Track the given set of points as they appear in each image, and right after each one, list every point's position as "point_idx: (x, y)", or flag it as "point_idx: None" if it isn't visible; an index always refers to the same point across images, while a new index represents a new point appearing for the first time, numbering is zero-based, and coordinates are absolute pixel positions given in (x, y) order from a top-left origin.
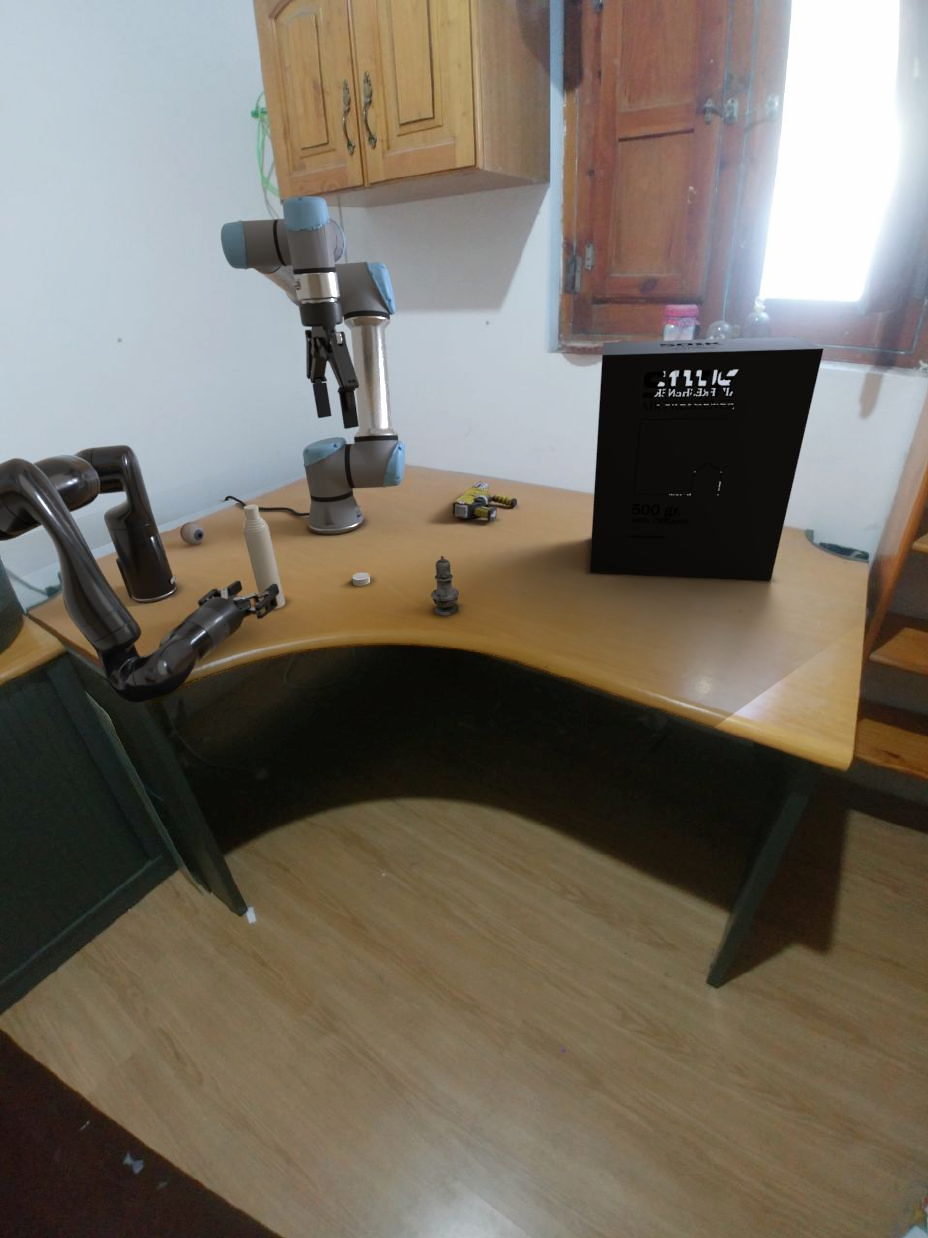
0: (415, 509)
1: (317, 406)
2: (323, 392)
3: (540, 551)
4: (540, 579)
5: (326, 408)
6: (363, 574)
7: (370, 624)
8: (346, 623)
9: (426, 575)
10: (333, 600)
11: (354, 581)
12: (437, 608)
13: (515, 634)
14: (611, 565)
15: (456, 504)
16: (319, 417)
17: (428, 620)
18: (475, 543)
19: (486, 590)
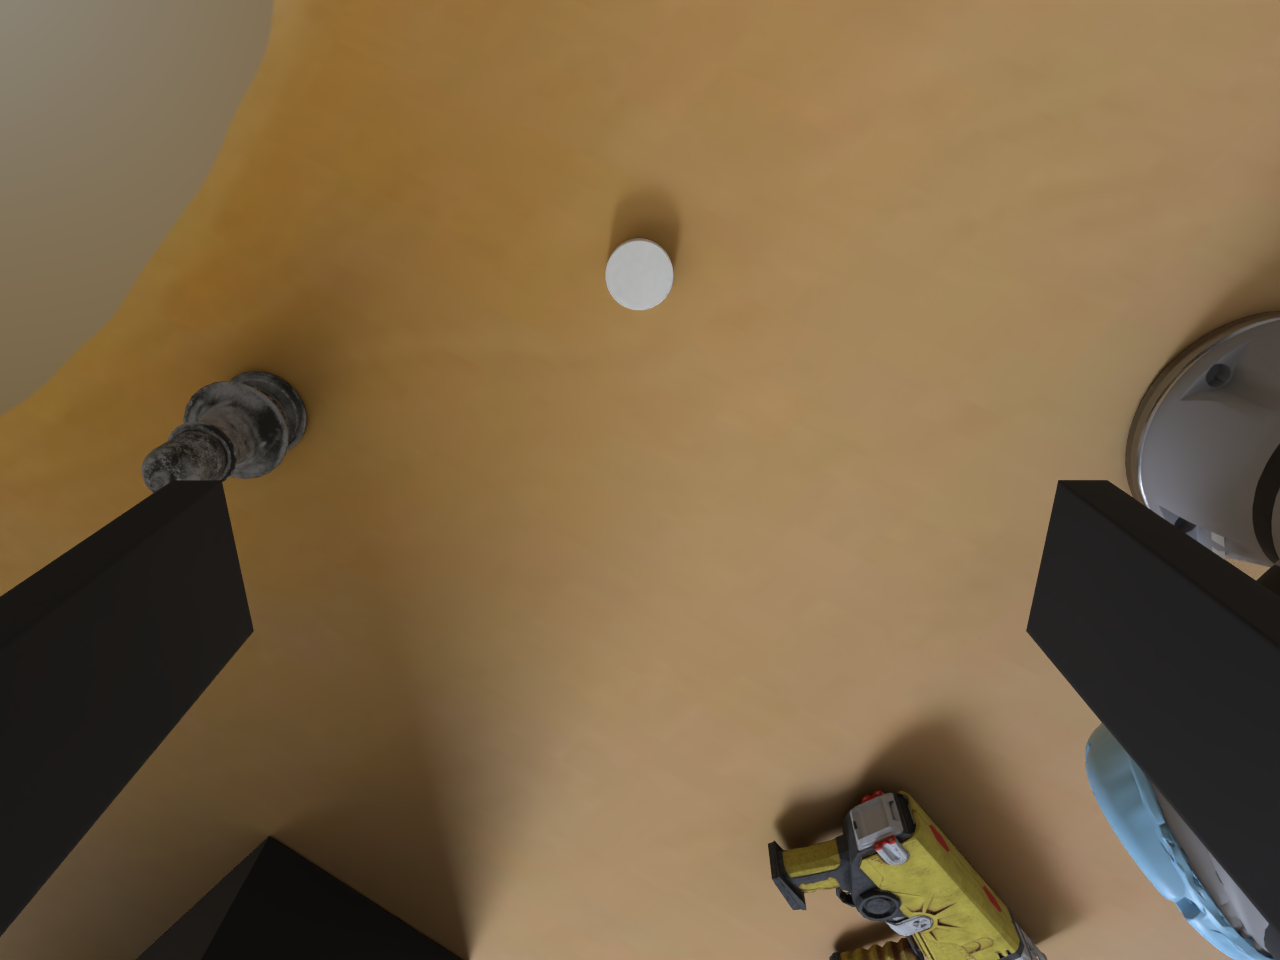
0: None
1: (1148, 549)
2: (1245, 801)
3: (479, 826)
4: (307, 725)
5: (1086, 642)
6: (646, 291)
7: (298, 147)
8: (351, 71)
9: (540, 486)
10: (560, 107)
11: (630, 240)
12: (263, 388)
13: (27, 493)
14: (223, 888)
15: (896, 831)
16: (1062, 486)
17: (227, 330)
18: (665, 728)
19: (325, 576)
